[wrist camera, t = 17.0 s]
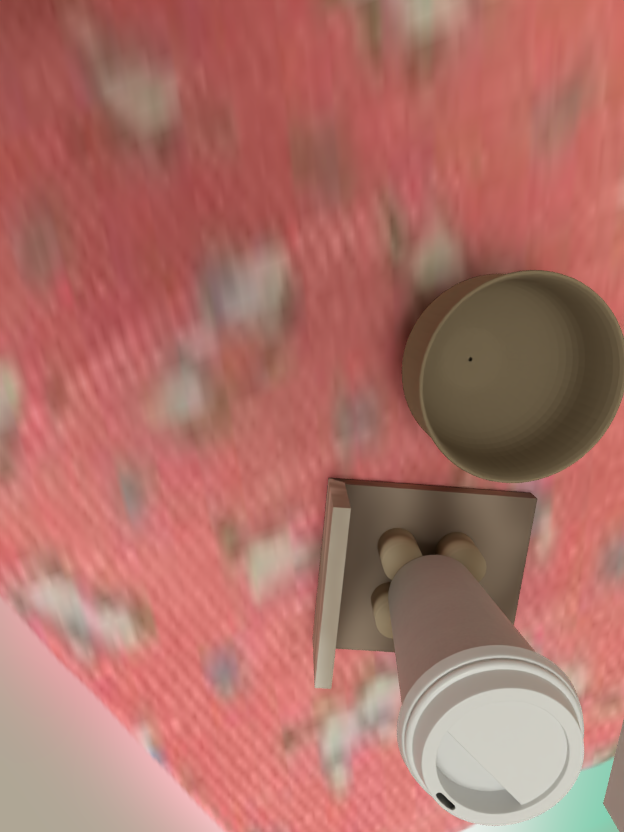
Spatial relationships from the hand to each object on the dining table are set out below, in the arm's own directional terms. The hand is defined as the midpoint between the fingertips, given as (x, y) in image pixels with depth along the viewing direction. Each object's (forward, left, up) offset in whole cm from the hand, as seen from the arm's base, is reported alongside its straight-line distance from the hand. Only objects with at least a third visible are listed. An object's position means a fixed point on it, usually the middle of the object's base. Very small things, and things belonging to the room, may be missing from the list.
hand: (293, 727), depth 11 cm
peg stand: (+11, -13, -33) cm, 37 cm away
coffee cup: (+11, -13, -29) cm, 33 cm away
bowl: (+13, +4, -33) cm, 36 cm away
